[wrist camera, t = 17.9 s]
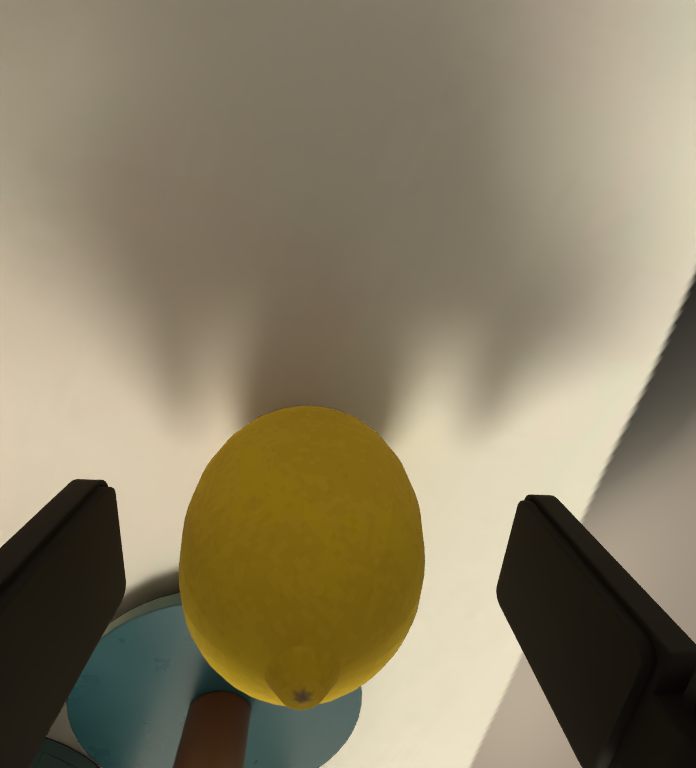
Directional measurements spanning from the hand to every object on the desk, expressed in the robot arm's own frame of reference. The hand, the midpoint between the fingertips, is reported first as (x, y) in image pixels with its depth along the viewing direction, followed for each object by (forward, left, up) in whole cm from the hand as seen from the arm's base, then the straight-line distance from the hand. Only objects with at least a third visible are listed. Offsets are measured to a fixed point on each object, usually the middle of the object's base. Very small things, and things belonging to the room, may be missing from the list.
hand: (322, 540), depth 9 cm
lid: (-3, -11, -4) cm, 12 cm away
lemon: (0, 0, -5) cm, 5 cm away
